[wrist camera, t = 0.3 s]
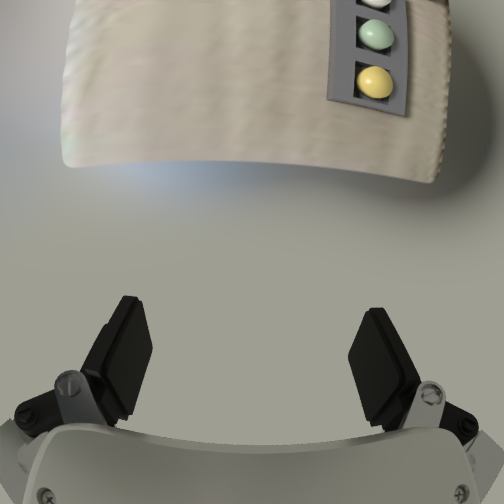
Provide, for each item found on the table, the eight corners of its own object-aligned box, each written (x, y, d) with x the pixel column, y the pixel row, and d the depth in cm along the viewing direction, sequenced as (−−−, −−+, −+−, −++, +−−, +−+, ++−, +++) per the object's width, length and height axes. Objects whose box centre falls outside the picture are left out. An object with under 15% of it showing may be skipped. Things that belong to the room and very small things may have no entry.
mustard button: (356, 65, 28) (363, 62, 25) (385, 73, 28) (393, 71, 26) (355, 94, 30) (362, 93, 27) (383, 101, 30) (391, 101, 28)
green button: (357, 20, 24) (364, 15, 22) (385, 29, 24) (393, 25, 22) (357, 46, 26) (364, 42, 24) (385, 54, 26) (394, 51, 24)
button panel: (330, -23, 22) (335, -31, 19) (395, -3, 22) (404, -8, 20) (326, 99, 32) (332, 98, 30) (394, 114, 33) (404, 115, 30)
